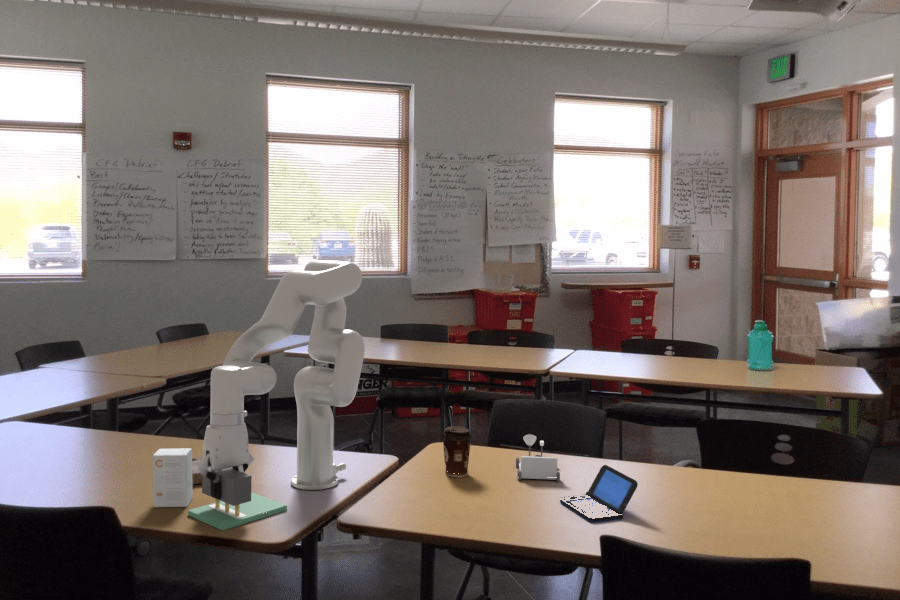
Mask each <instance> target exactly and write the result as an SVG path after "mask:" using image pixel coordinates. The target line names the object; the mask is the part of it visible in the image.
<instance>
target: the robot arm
mask: <svg viewBox="0 0 900 600" xmlns="http://www.w3.org/2000/svg"><path fill="white" fill-rule="evenodd" d="M362 281H363V273H362V270H361V268H360V267H359V266H358V265H357V264H356V263H355V262H352V261H343V260H327V259H326V260H325V259H323V260H322V259H319V260H318V259H317V260H313V261H309V262H308V263H307V264H306V265H305V266H304V269H303V270H291V271H288V272H286V273H284V274H283V275H282V277H281V279H280V280H279V283H278V284H277V287H276V288H275V290H274V292H273V294H272V296H271V299H270V301H269V302H268V305H267V306H266V309H265V311H264V312H263V314H262V316H261V318H260V319H259V320H258V321H257V322H256V323H254V324H253V325H252V326H250V327H249V328H248V329H247V330H246V331H244V333H242V334H241V335H240V336H239V337H238V338H237V339H236V340H235V341H234V343H233V344H232V346H231V347H230V349H229V351H228V353H227V355H226V357H225V359H224V361H223V363H222V365H218V366H216V367H213V368H212V370H211V372H210V403H209V404H210V411H209V414H210V415H209V416H210V418H209V419H210V421H209V425H207V426H206V429H205V433H204V438H203V445H202V456H201V458H202V463H201V465H200V467H199V468H198V472H199V473H201V474H203V475H204V476H205V477H207V478H208V480H209V481H211V490H210V493H211V496H212V497H211V496H210V497H211V498H213V499H215V498H216V499H221V482H219V479H220V475H221V471H222V469H226V468H232V469H234V470H237V471H240V472H243V473H246V471H247V470H248V468H249V466H250V465H251V464H252V463H253V462H254V461H255V458H254V456H253V455H252V454H251V453H250V451H249V450H250V449H249V434H248V429H247V425H246V422H245V417H247V416H248V411H247V410H245V407H244V404H245V403H244V402H245V396H251V395H253V396H254V395H255V396H256V395H257V396H260V395H265V394H267V393H269V392H271V391H272V390H273V388H275V386H276V384H277V379H278V377H277V373H276V371H275V369H274V368H273V367H272V366H270V365H269V364H266V363H261V362H255V361H252V360H253V359H254V358H255V357H256V355H257V354H258V353H259V352H260V351H261V350H262V349H264V348H266V347H267V346H270V345H272V344H274V343H278V342H279V341H282V340H284V339H287V338H288V337H290V336H291V335H292V334H293V333H294V332H295V329H296V327H297V325H298V323H299V320H300V319H301V316H302V315H303V312H304V310H305V308H306V307H307V305H312V306H315V307H314V315H313V319H312V320H313V321H312V325H311V329H310V334H309V339H308V343H307V344H308V345H307V354H308V356H309V357H310V358H311V359H312V360H314V361H316V362H320V363H326V364H332V365H334V368H330V367H323V366H318V365H316V366H315V365H314V366H313V365H312V366H311V365H310V366H305V367H303V368H301V369H299V370H298V371H297V373H296V375H295V377H294V380H293V391H294V392H293V393H294V396H295V397H294V398H295V402H296V411H297V412H296V413H297V414H296V415H297V417H296V419H297V424H296V425H297V426H296V427H297V428H296V437H297V438H296V439H297V441H296V474H295V475H293V476H292V477H291V479H290V484H291V486H293V487H294V488H296V489H300V490H306V491H319V490H321V491H322V490H327V489H330V488H334V487H335V486H336V485H339V480H340V479H339V477H338V476H337V473H339V472H341V471H344V470H346V469H347V465H346V463H345V462H342V463H341V462H340V463H338V464H337V463H335V462H334V415H333V414H334V413H333V411H332V408H331V406H332V407H337V408H338V407H339V408H343V407H347V406H349V405H351V403H352V402H353V400H354V399H355V396H356V394H357V391H358V386H359V383H360V382H359V381H360V378H361V377H360V376H361V373H362V368H363V363H364V358H365V351H366V349H365V346H366V345H365V341H364V339H363V337H362V335H361V334H360V333H359V332H358V331H355V330H353V329H346V327H345V325H346V319H347V313H348V312H347V311H348V310H347V305H346V301H345V299H344V298H346V297H348V296H350V295H353V294H354V293H356V292H357V290H358V289H359V288H360V287H361V284H362ZM208 467H211V468H210V472H209V471H208V470H207V468H208ZM215 471H216V472H215Z"/></svg>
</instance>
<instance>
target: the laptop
mask: <svg viewBox="0 0 900 600" xmlns="http://www.w3.org/2000/svg"><path fill="white" fill-rule="evenodd" d="M638 485H639V484H638V481H637V480H636V479H633V478H632V477H630V476H628V475H625V474H624V473H622V472H620V471H618V470H617V469H615V468H612V467H611V466H609V465H608V464H604V465H602V466H601V467H600V469H599V470H598V472H597V474H596V476H595V479H594V480H593V481H592V484H591V485H590V487H589V488H588V491H586V492H585V495H588V496H590V497H591V498H586V499H587V500H588V501H589V500H590V499H593V501H594V500H595V501H596V502H598V503H599V504H602V505H605V506H607V509H608V511H609V510H610V509H611V510H613V511H615V512H616V513H618V514H623V515H618V516H611V517H603V518H595V519H592V518H588V517H587V516H585V515H584V514H582V513H580V512H579V511H577V510H576V509H574V508H573V507H571V506H570V505H568V504H566V503H565V502H563V501H562V500H560V499H559V502H560V504H562V505H563V506H565V507H566V508H567V509H569V510H570V511H572V512H574V514H576V515H578V516H579V517H581V518H582V519H584V520H585V521H587V522H589V523H593V524H594V523H600V522H609V521H617V520H623V519H624V518H623V516H624V513H623V512H625V510H626V508H627V506H628V505H629V502H630V500H631V499H632V497H633V495H634V493H635V492H636V491H637V488H638ZM572 496H573V497H571V498H570V499H575V498H577V497H574V496H575V495H572ZM563 497H564V498H565V497H566V496H563ZM563 497H561V498H563ZM580 497H582V498H585V496H580ZM586 499H585V500H586ZM564 500H565V499H564ZM578 500H581V501H582V500H584V499H578ZM571 501H577V500H570V501H566V502H567V503H570V504H571V505H573V504H572V503H571ZM581 501H580V502H581ZM578 502H579V501H578ZM596 502H595V503H596ZM592 504H593V503H592ZM589 505H590V504H589ZM573 506H574V505H573ZM585 506H586V505H585ZM592 506H593V505H592ZM574 507H576V506H574ZM578 508H579V507H578ZM578 508H577V509H578ZM589 509H590V508H589ZM581 510H582V509H581ZM582 512H583V510H582ZM584 512H585V511H584ZM584 512H583V513H584ZM602 512H603V511H602ZM585 513H586V512H585ZM592 513H593V512H592ZM606 513H607V512H606ZM608 515H609V514H608Z"/></svg>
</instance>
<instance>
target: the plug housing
mask: <svg viewBox="0 0 900 600" xmlns="http://www.w3.org/2000/svg"><path fill="white" fill-rule="evenodd" d="M210 468H211V467H208V468H207V470H208V471H209V472H210ZM215 472H216V471H215ZM219 482H221V499H218V500H220V501H223V502H225V503H228V504H230V505H233V506H235V505H238V504H242V503H246V502H249V501H251V492H252V475H251V474H248V473H246V472H244V473H243V472H240V471H237V470H234V469H232V467H230V468H226V469H222V471H221V475H220V479H219ZM210 490H211V481H209V480H208V478H207V477H205V476H204V475H203V474H202V484H201V494H204V495H206V496H209V497H211V498H213V497H212V496H211V493H210Z"/></svg>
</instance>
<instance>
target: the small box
mask: <svg viewBox="0 0 900 600" xmlns="http://www.w3.org/2000/svg"><path fill="white" fill-rule="evenodd" d="M192 449H193V448H190V447H189V448H188V447H186V448H181V447H180V448H159V449H157V451H155V452H154V453H153V455H152V498H153V499H152V503H153V505H152V506H153V508H182V507H183V508H186V507H188V505H190V503H191V501H192V499H193V495H194V494H193V486H194V485H193V483H192V458H193V450H192Z"/></svg>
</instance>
